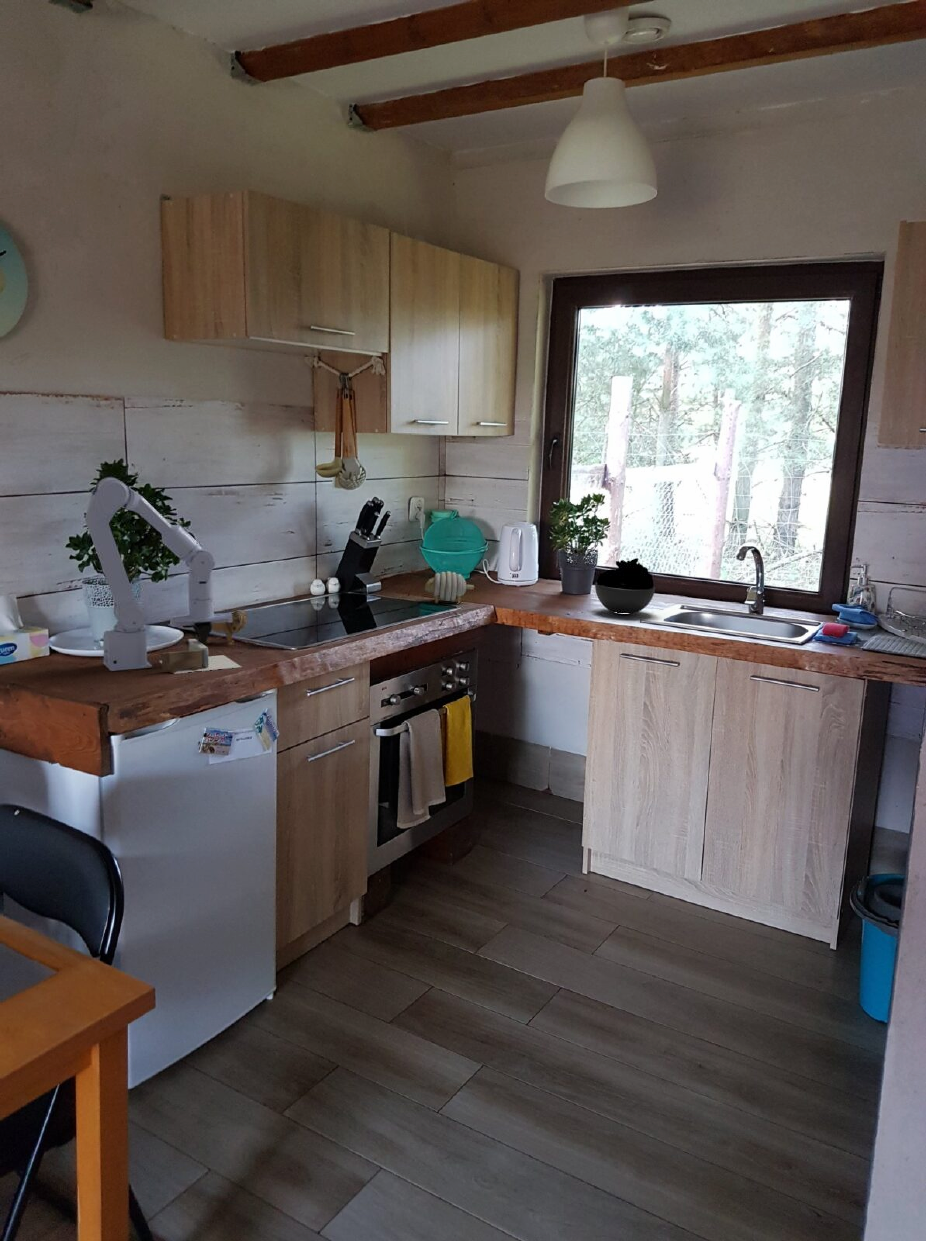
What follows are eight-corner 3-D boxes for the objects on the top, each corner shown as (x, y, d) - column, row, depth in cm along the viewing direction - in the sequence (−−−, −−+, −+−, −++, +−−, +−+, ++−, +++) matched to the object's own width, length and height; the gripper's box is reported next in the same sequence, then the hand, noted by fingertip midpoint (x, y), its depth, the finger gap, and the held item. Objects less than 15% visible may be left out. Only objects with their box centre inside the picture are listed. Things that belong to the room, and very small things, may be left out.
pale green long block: (209, 666, 224) (209, 648, 223) (203, 666, 223) (202, 649, 222) (195, 655, 234) (194, 638, 233) (188, 656, 233) (188, 639, 232)
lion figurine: (249, 641, 254) (249, 609, 253) (244, 646, 249) (244, 612, 247) (195, 639, 255) (194, 606, 253) (188, 643, 249) (188, 609, 248)
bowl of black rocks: (617, 621, 306) (621, 564, 302) (581, 610, 323) (585, 555, 320) (665, 618, 316) (670, 562, 312) (627, 607, 333) (632, 554, 329)
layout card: (174, 674, 218) (174, 673, 218) (159, 661, 229) (159, 660, 229) (241, 667, 227) (241, 666, 227) (223, 655, 237) (223, 655, 237)
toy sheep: (422, 599, 330) (424, 568, 328) (470, 600, 332) (472, 569, 330) (425, 605, 320) (427, 573, 318) (475, 606, 322) (476, 574, 320)
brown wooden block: (165, 673, 217) (164, 654, 217) (160, 669, 220) (160, 651, 220) (203, 669, 222) (203, 651, 221) (198, 666, 225) (198, 648, 224)
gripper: (225, 593, 235) (226, 646, 237) (166, 597, 227) (168, 652, 230) (234, 598, 229) (235, 652, 231) (173, 602, 221) (175, 658, 224)
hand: (202, 653), depth 230 cm, fingers closed, pressing on pale green long block
